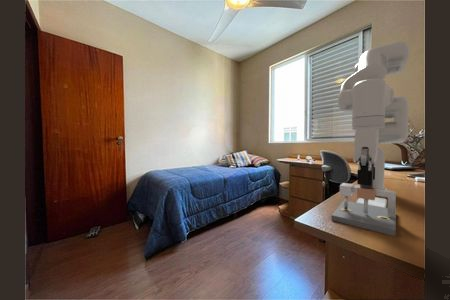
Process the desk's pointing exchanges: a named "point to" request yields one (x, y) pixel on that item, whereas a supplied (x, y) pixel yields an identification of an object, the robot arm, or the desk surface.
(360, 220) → the bolt plate
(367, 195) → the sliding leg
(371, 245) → the desk surface
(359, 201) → the hard drive
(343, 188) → the light grey bracket
